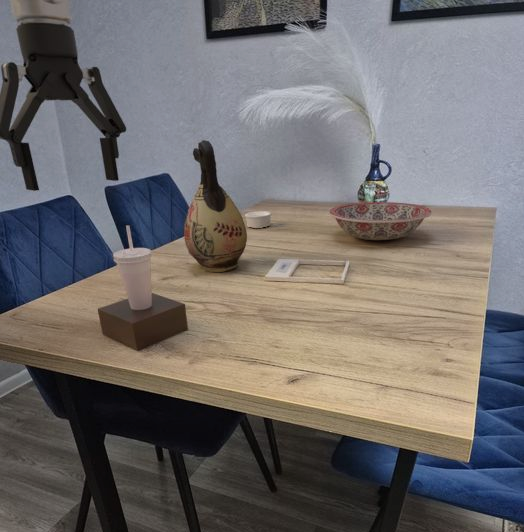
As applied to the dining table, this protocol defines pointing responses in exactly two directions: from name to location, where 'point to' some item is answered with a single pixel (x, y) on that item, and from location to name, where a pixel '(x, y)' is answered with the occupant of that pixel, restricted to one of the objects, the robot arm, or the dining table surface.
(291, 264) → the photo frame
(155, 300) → the block
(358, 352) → the dining table surface
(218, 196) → the ceramic jug
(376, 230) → the ceramic bowl
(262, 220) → the ramekin
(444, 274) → the dining table surface
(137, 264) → the smoothie
